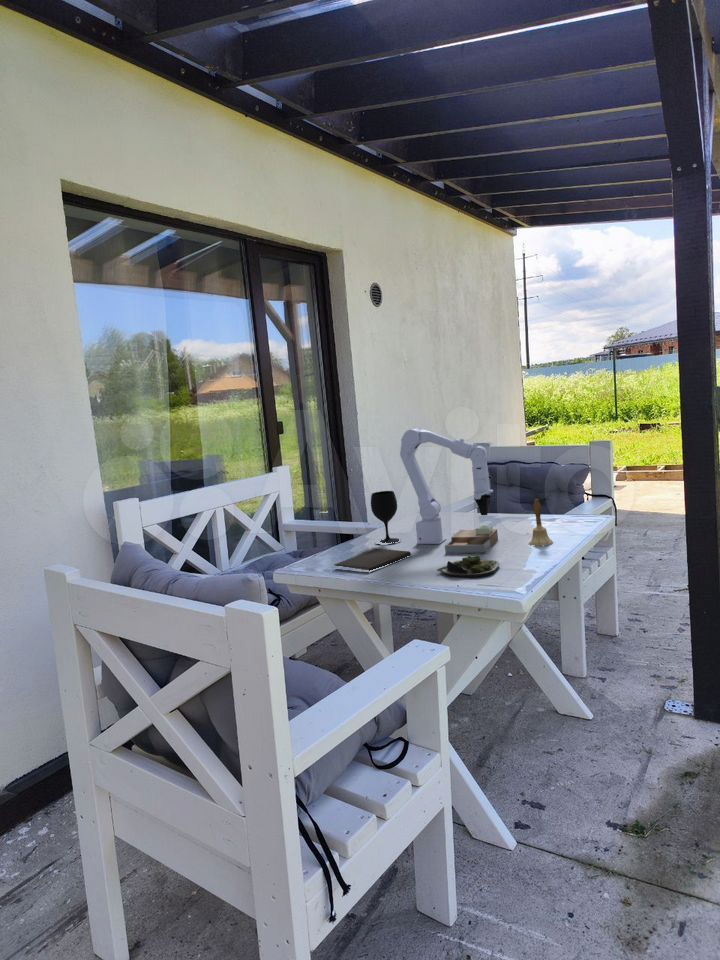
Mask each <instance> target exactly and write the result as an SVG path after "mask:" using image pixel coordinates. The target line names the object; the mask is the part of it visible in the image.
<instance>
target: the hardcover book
mask: <svg viewBox="0 0 720 960" xmlns="http://www.w3.org/2000/svg"><path fill="white" fill-rule="evenodd" d="M410 555H411V556H412V554H411V551H409V550H397V549H396V550H395V549H387V548H386V549H385V548H374V549H372V550H371V549H370V550H369V551H366V552H363V553H361V554H358V555H355V556H352V557H350V558H348V559H345V560H342V561H340V562H337V563H335V564H333V566H334V567H335V566H343V567H349V568H355V569H361V570H369V571H370V570H373V569H376V568H379V567H382V566H385V565H387V564H390V563H393V562H395V561H398V560H400V559H403V558H405V557H407V556H410ZM411 556H410V557H411ZM403 560H404V559H403ZM398 562H399V561H398Z"/></svg>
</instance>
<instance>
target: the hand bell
mask: <svg viewBox="0 0 720 960" xmlns="http://www.w3.org/2000/svg"><path fill="white" fill-rule="evenodd" d="M533 500H534V501H533V504H532V505H533V513H534V516H535V522H536V523H535V524H536V526H535V527H534V528H533V529H532V536H531V539H530V541H529V542H528V545H529V544H530V545H529V546H531V545H535V546H534V547H543V546H542V545H547V546H551V545H553V544H552V543H554V541H553V540H552V539H551V538H550V536H549V535H548V531H547V528H546V527H544V526H542V525H543V524H542V519H541V515H542V505H541V502H540V501H539V498H534V499H533ZM550 544H551V545H550ZM540 545H541V546H540Z"/></svg>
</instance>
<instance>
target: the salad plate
mask: <svg viewBox="0 0 720 960" xmlns="http://www.w3.org/2000/svg"><path fill="white" fill-rule="evenodd" d="M461 559H462V560H455V561H449V560H448V561H447V562H446V563H447V564H446V565H445V566H442V567H440V568H437V569H436V571H438V572H439V573H442V574H444V576H446V577H449V578H456V579H459V578H460V579H479V578H480V579H481V578H486V577H488V576H490V575H493V574H494V573H495V572H496V570H497V569H498V568H499V566H500V562H499V561H498V560H492V559H490V560H488V559H486V560H482V558H481V556H480V555H475V554H473V555H472V556H470V555H469V556H467V557H462V558H461Z"/></svg>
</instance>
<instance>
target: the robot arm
mask: <svg viewBox="0 0 720 960" xmlns="http://www.w3.org/2000/svg"><path fill="white" fill-rule="evenodd" d="M400 442H401V443H400V452H399V456H400V458H401V461H402V463H403V465H404V468H405V470H406V473H407V476H408V477H409V479H410V483H411V484H412V487H413V489H414V491H415V493H416V496H417V499H418V500H417V501H418V507H419V514H420V517H421V519H418V520H417V521H416V523H415V531H416V532H415V533H416V544H417V545H428V544H429V545H430V544H431V545H432V544H433V545H434V544H435V545H436V544H437V545H440V544H442V543H443V542H444V541H445V540H447V537H444V536H443V529H442V526H443V525H442V517H441V516H440V512H441V509H442V508H441V507H442V506H441V503H439V501H438V500H436V498H435V496H434V495H433V494H432V492H431V491H430V489H429V486H428V484H427V481H426V479H425V476H424V474H423V471H422V470H421V468H420V465H419V462H418V460H417V457H416V455H415V454H416V452H417V450H418V447H419V446H420V445H421V444H426V443H432V444H435V445H438V446H441V447H444V448H446V449H449V450H450V451H451V453H452V454H454V455H455V456H456V455H457V456H459V457H462V458H464V459H470V461H471V465H472V467H471V470H472V481H473V482H472V483H473V494H474V495H473V496H474V497H473V500H474V502H475V503H476V505H477V507H478V510H479V513H480V515H481V516H488V513H489V505H490V503H491V502H490V501H491V498H492V494H489V493H493V492H494V489H490V488H491V487H490V486H491V485H490V477H489V467H488V461H487V457H488V450H487V449H486V448H485V447H484V446H482V445H477V443H471V442H468V441H465V439H464V438H462V437H461V438H456V439H453V440H452V439H450V438H448V437H445V436H443V435H440V434H438V433H435V432H433V431H430V430H427V429H421V428H419V427H414V428H412V429H407V430H406V431H404V433H403V435H402V437H401V439H400Z"/></svg>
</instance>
